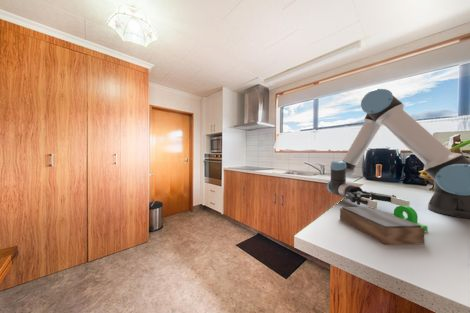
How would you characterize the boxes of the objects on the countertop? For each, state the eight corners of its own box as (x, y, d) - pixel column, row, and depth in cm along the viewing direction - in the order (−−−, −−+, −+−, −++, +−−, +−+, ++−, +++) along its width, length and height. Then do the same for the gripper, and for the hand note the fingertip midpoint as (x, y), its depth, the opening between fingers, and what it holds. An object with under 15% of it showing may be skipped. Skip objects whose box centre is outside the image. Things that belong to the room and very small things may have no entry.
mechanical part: (427, 232, 54) (427, 208, 54) (412, 233, 54) (412, 209, 53) (388, 218, 66) (388, 198, 66) (375, 218, 65) (376, 199, 65)
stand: (368, 218, 65) (368, 206, 65) (424, 243, 47) (424, 226, 47) (339, 219, 64) (340, 206, 64) (385, 244, 46) (385, 227, 46)
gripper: (373, 199, 86) (421, 213, 65) (327, 199, 84) (362, 214, 63) (373, 184, 86) (422, 194, 65) (327, 185, 84) (362, 195, 63)
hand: (392, 204), depth 64 cm, fingers open, 13 cm apart
